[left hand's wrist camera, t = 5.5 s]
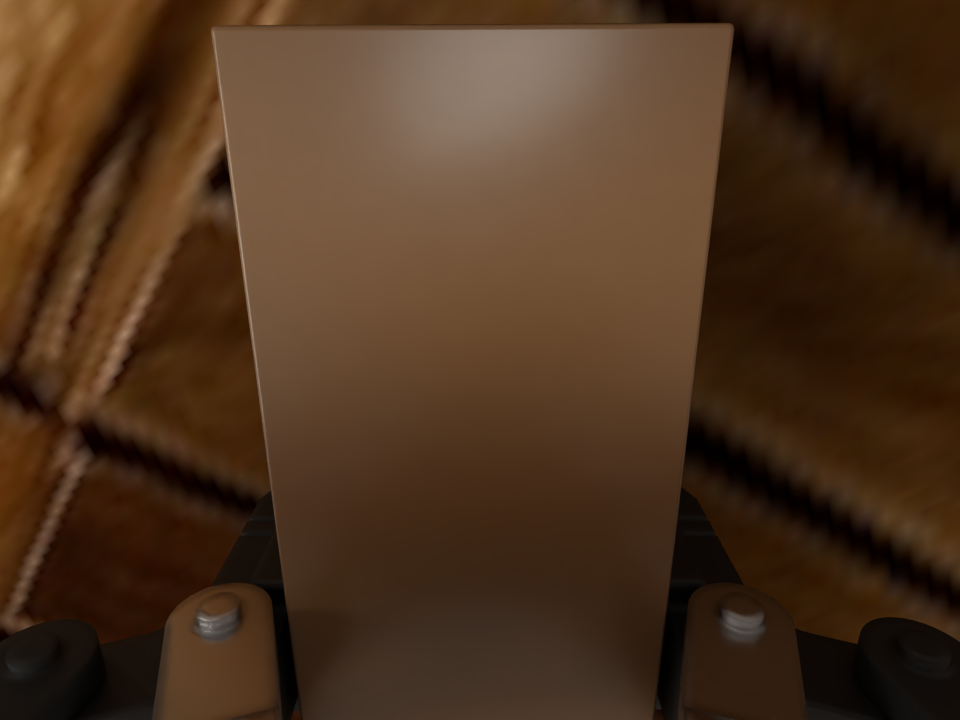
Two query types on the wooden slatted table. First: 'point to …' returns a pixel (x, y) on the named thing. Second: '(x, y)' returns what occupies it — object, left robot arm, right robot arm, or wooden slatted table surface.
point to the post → (475, 349)
